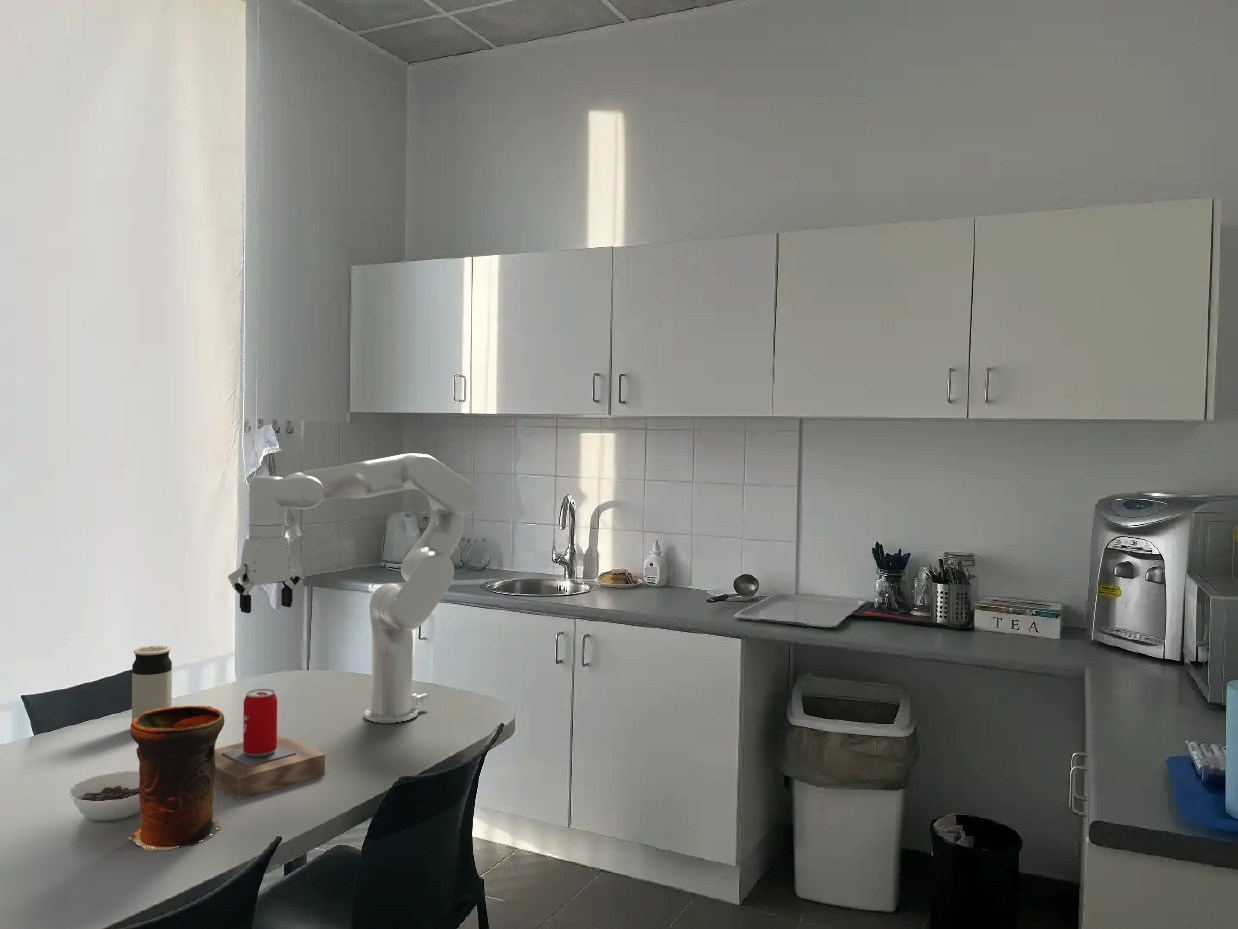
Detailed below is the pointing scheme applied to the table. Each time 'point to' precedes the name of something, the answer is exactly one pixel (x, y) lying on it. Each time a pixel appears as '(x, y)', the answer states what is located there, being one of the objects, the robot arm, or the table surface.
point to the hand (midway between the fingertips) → (266, 609)
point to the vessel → (176, 775)
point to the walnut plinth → (265, 768)
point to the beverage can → (260, 722)
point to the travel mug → (151, 679)
